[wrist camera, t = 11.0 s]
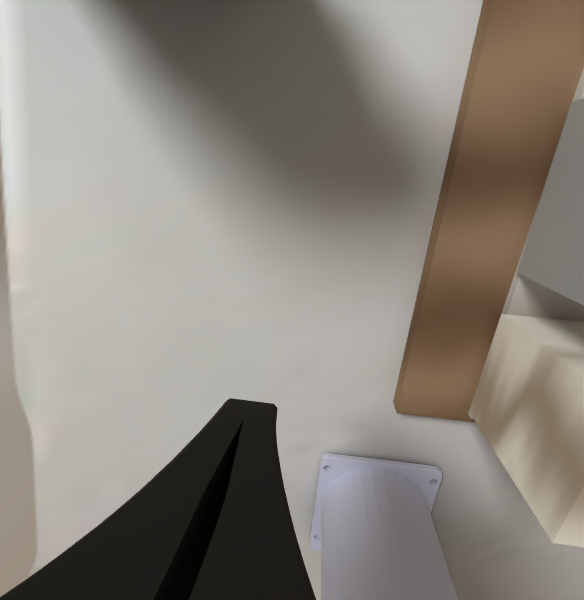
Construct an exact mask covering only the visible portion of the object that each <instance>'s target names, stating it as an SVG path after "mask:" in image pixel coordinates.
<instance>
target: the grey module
mask: <svg viewBox="0 0 584 600" xmlns="http://www.w3.org/2000/svg"><path fill="white" fill-rule="evenodd" d="M517 273H518V274H520V275H522V276H524V277H526V278H528V279H530V280H532V281H534V282H536V283H539V284H541V285H543V286H545V287H547V288H549V289H551V290H553V291H555V292H557V293H559V294H561V295H563V296H565V297H567V298H569V299H571V300H574V301H576V302H578V303H580V304H582V305H584V98H583V99H580V100H576V101H573V102H572V103H571V106H570V109H569V112H568V115H567V118H566V121H565V124H564V127H563V131H562V134H561V137H560V140H559V143H558V146H557V149H556V152H555V156H554V159H553V162H552V165H551V168H550V171H549V174H548V177H547V181H546V184H545V187H544V190H543V193H542V196H541V199H540V202H539V205H538V209H537V212H536V215H535V218H534V221H533V224H532V227H531V230H530V234H529V237H528V240H527V243H526V246H525V249H524V252H523V255H522V258H521V262H520V265H519V268H518V271H517Z"/></svg>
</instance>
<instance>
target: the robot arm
mask: <svg viewBox="0 0 584 600" xmlns="http://www.w3.org/2000/svg"><path fill="white" fill-rule="evenodd" d="M276 419H277V407H276V406H275V405H274V404H270V403H263V402H255V401H247V400H239V399H231V398H230V399H229V400H227V401H226V402H225V403H224V404H223V406H222V407H221V408H220V409H219V410H218V412H217V413H216V414H215V415H214V416H213V417H212V419H211V420H210V421H209V422H208V423H207V424H206V425H205V426H204V427H203V429H202V430H201V431H200V432H199V433H198V434H197V435H196V436H195V437H194V438H193V439H192V440H191V441H190V442H189V443H188V444H187V445H186V447H185V448H184V449H183V450H182V451H181V452H180V453H179V454H178V455H177V456H176V457H175V458H174V459H173V460H172V461H171V462H170V463H169V464H168V465H166V466H165V467H164V468H163V469H162V470H161V471H160V472H159V473H158V474H157V475H156V476H155V477H154V478H153V479H152V480H151V481H149V482H148V483H147V484H146V485H145V486H144V487H143V488H142V489H141V490H140V491H139V492H137V493H136V494H135V495H134V496H133V497H132V498H131V499H129V500H128V501H127V502H126V503H125V504H124V505H122V506H121V507H120V508H119V509H118V510H116V511H115V512H114V513H113V514H112V515H110V516H109V517H108V518H107V519H105V520H104V521H103V522H102V523H101V524H99V525H98V526H97V527H96V528H94V529H93V530H92V531H90V532H89V533H88V534H87V535H85V536H84V537H83V538H81V539H80V540H79V541H77V542H76V543H75V544H74V545H72V546H71V547H70V548H68V549H67V550H66V551H64V552H63V553H62V554H61V555H59V556H58V557H57V558H55V559H54V560H52V561H51V562H50V563H48V564H47V565H46V566H44V567H43V568H42V569H40V570H39V571H37V572H36V573H35V574H33V575H32V576H30V577H29V578H28V579H26V580H25V581H23V582H22V583H20V584H19V585H17V586H16V587H14V588H13V589H12V590H10V591H9V592H7V593H6V594H4V595H3V596H1V597H0V600H316V598H315V595H314V592H313V589H312V586H311V583H310V580H309V577H308V574H307V571H306V568H305V564H304V561H303V558H302V555H301V551H300V548H299V544H298V541H297V538H296V534H295V530H294V527H293V523H292V519H291V515H290V511H289V507H288V503H287V498H286V494H285V489H284V485H283V480H282V474H281V468H280V462H279V456H278V449H277V438H276ZM442 477H443V473H442V471H441V469H440V468H439V467H437V466H431V465H423V464H414V463H406V462H398V461H390V460H382V459H373V458H365V457H357V456H349V455H341V454H332V453H325V454H323V455H322V456H321V461H320V468H319V476H318V483H317V490H316V498H315V505H314V513H313V520H312V527H311V535H310V547H311V548H312V549H314V550H319V551H321V600H458V598H457V595H456V592H455V588H454V585H453V582H452V579H451V576H450V573H449V570H448V567H447V564H446V561H445V558H444V554H443V551H442V548H441V545H440V542H439V539H438V536H437V533H436V530H435V527H434V524H433V520H432V517H431V511H432V508H433V505H434V502H435V499H436V496H437V493H438V490H439V486H440V483H441V480H442Z"/></svg>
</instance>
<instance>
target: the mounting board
mask: <svg viewBox="0 0 584 600" xmlns="http://www.w3.org/2000/svg"><path fill="white" fill-rule="evenodd" d="M583 98H584V0H484V1H483V5H482V9H481V14H480V18H479V23H478V27H477V32H476V36H475V41H474V45H473V49H472V54H471V58H470V63H469V67H468V72H467V76H466V81H465V85H464V90H463V94H462V98H461V103H460V107H459V112H458V116H457V121H456V125H455V130H454V134H453V138H452V143H451V147H450V152H449V156H448V161H447V165H446V170H445V174H444V179H443V183H442V187H441V192H440V196H439V201H438V205H437V210H436V214H435V219H434V223H433V227H432V232H431V236H430V241H429V245H428V250H427V254H426V259H425V263H424V268H423V272H422V276H421V281H420V285H419V290H418V294H417V299H416V303H415V308H414V312H413V316H412V321H411V325H410V330H409V334H408V339H407V343H406V348H405V352H404V357H403V361H402V365H401V370H400V374H399V379H398V383H397V388H396V392H395V397H394V401H393V403H394V406H395V409H396V412H397V413H401V414H410V415H419V416H428V417H437V418H445V419H454V420H463V421H472V422H476V423H477V425H478V426H479V428H480V429H481V431H482V433H483V434H484V436H485V437H486V439H487V441H488V442H489V444H490V445H491V447H492V448H493V450H494V452H495V453H496V455H497V456H498V458H499V460H500V461H501V463H502V464H503V466H504V467H505V469H506V471H507V472H508V474H509V475H510V477H511V479H512V480H513V482H514V483H515V485H516V486H517V488H518V490H519V491H520V493H521V494H522V496H523V498H524V499H525V501H526V502H527V504H528V505H529V507H530V509H531V510H532V512H533V513H534V515H535V516H536V518H537V520H538V521H539V523H540V524H541V526H542V528H543V529H544V531H545V532H546V534H547V535H548V537H549V539H550V540H551V542H552V543H556V544H564V545H571V546H579V547H584V305H582V304H580V303H578V302H576V301H574V300H571V299H569V298H567V297H565V296H563V295H561V294H559V293H557V292H555V291H553V290H551V289H549V288H547V287H545V286H543V285H541V284H539V283H536V282H534V281H532V280H530V279H528V278H526V277H524V276H522V275H520V274H518V273H517V271H518V268H519V265H520V262H521V258H522V255H523V252H524V249H525V246H526V243H527V240H528V237H529V234H530V230H531V227H532V224H533V221H534V218H535V215H536V212H537V209H538V205H539V202H540V199H541V196H542V193H543V190H544V187H545V184H546V181H547V177H548V174H549V171H550V168H551V165H552V162H553V159H554V156H555V152H556V149H557V146H558V143H559V140H560V137H561V134H562V131H563V127H564V124H565V121H566V118H567V115H568V112H569V109H570V106H571V103H572V102H573V101H576V100H580V99H583Z"/></svg>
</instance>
